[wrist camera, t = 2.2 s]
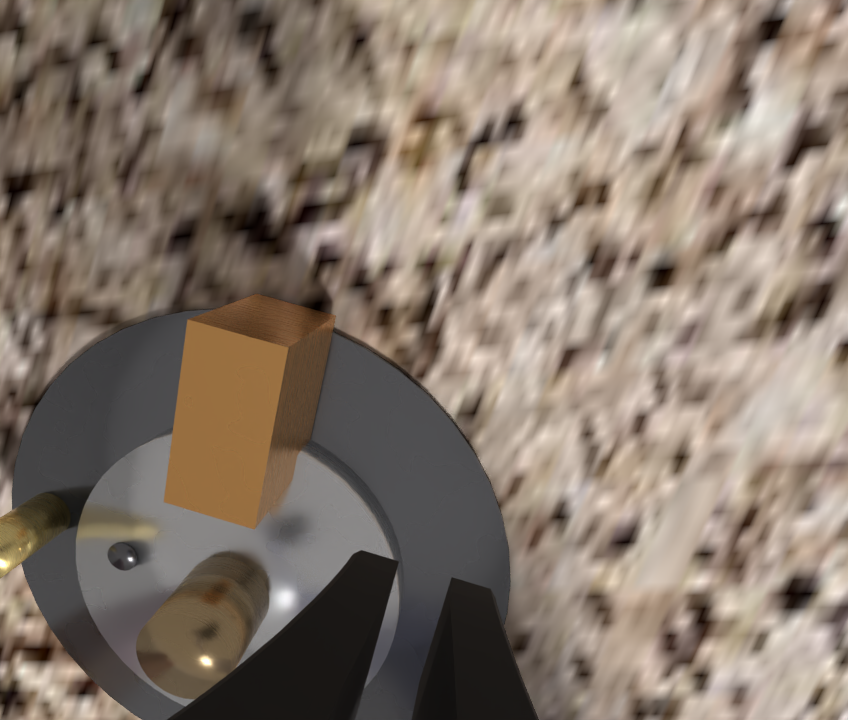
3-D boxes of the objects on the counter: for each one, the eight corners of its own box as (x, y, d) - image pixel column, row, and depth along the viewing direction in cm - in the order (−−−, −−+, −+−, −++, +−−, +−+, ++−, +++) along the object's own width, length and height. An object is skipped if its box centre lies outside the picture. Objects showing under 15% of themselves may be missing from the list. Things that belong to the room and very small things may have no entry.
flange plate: (473, 353, 17) (464, 397, 13) (365, 734, 21) (335, 850, 18) (125, 257, 18) (20, 272, 14) (88, 645, 22) (0, 738, 18)
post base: (583, 398, 17) (610, 462, 13) (435, 822, 22) (418, 970, 18) (26, 243, 18) (-120, 256, 14) (6, 682, 23) (-106, 790, 19)
